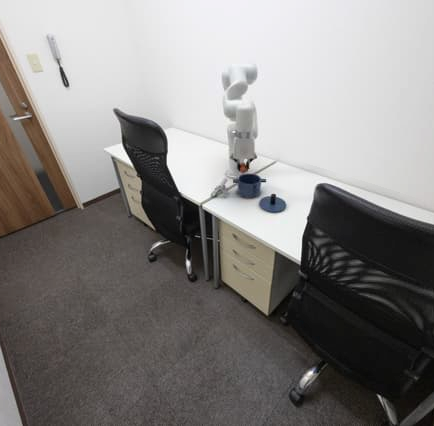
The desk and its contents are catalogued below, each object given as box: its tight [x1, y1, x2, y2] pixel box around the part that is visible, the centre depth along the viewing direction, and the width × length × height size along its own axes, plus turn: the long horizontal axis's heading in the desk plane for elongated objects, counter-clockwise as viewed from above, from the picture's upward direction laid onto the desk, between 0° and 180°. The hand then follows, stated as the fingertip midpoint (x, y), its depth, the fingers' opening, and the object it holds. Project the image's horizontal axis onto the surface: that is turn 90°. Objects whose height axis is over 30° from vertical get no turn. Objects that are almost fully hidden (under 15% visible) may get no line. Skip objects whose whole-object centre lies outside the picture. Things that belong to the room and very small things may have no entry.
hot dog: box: [240, 162, 248, 174], centre depth 117 cm, size 8×3×3 cm, turn 179°
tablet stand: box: [210, 177, 229, 198], centre depth 129 cm, size 9×8×8 cm
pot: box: [232, 173, 267, 199], centre depth 130 cm, size 13×18×8 cm
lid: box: [258, 193, 287, 213], centre depth 120 cm, size 14×14×6 cm
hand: (243, 169), depth 118 cm, fingers closed on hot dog, 3 cm apart
